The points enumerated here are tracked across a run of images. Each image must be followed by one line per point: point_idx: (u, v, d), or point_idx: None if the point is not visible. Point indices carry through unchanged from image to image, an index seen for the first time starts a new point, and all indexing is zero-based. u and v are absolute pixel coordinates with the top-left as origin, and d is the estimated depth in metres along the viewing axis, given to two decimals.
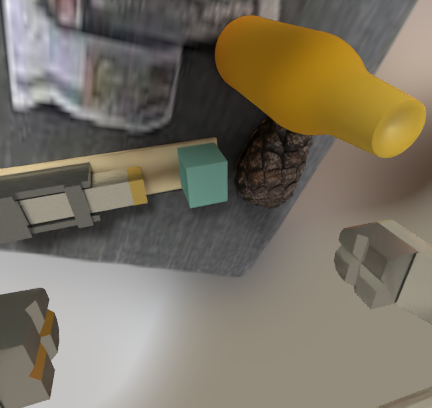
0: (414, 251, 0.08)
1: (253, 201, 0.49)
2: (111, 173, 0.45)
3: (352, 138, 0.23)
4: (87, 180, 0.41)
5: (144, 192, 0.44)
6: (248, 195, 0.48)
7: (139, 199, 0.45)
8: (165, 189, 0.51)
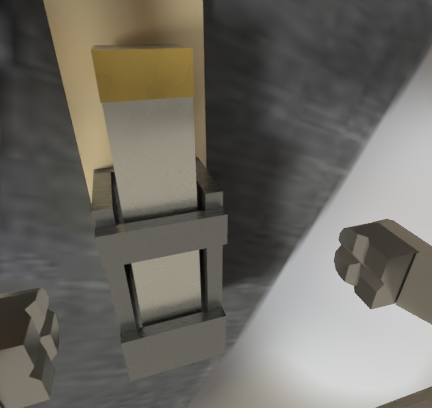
0: (414, 251, 0.08)
1: None
2: None
3: None
4: None
5: (147, 53, 0.13)
6: None
7: (176, 75, 0.14)
8: None
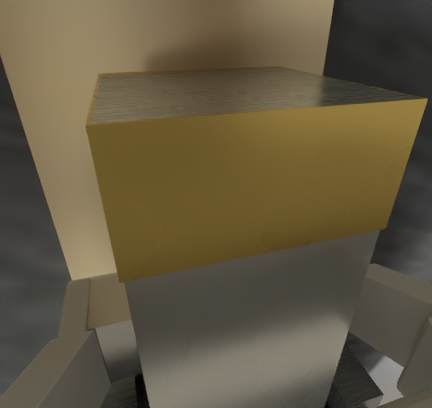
0: None
1: None
2: None
3: None
4: None
5: (292, 124, 0.04)
6: None
7: (355, 181, 0.04)
8: None
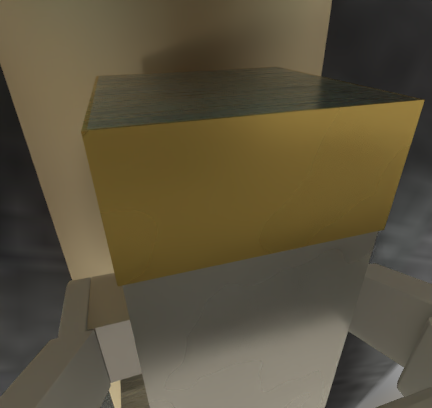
0: None
1: None
2: None
3: None
4: None
5: (288, 126, 0.04)
6: None
7: (352, 183, 0.04)
8: None
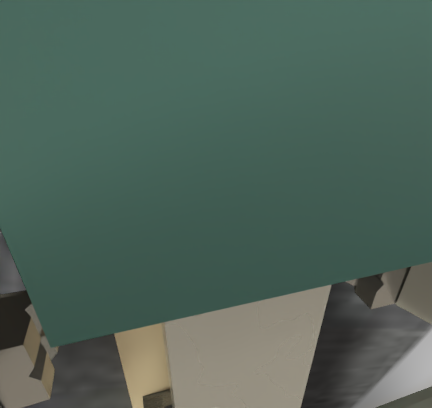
0: None
1: None
2: None
3: None
4: None
5: None
6: None
7: None
8: None
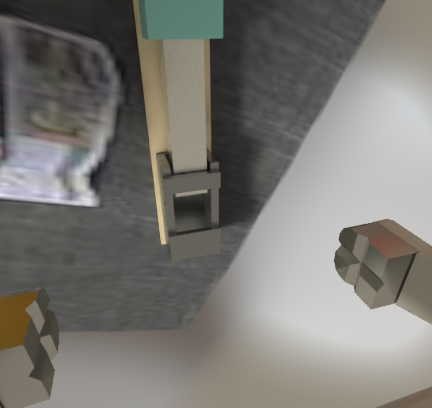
0: (414, 251, 0.08)
1: None
2: (159, 51, 0.32)
3: None
4: (161, 169, 0.35)
5: None
6: None
7: None
8: (207, 62, 0.36)
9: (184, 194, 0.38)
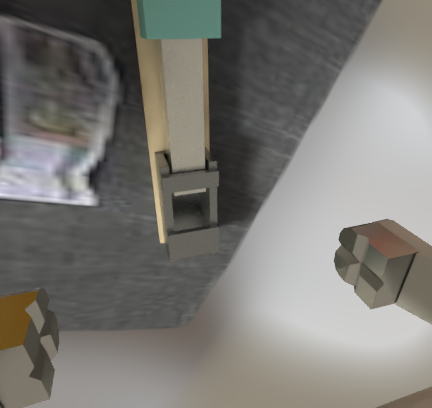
0: (414, 251, 0.08)
1: None
2: (158, 51, 0.33)
3: None
4: (160, 168, 0.35)
5: None
6: None
7: None
8: (205, 62, 0.36)
9: (183, 193, 0.38)
